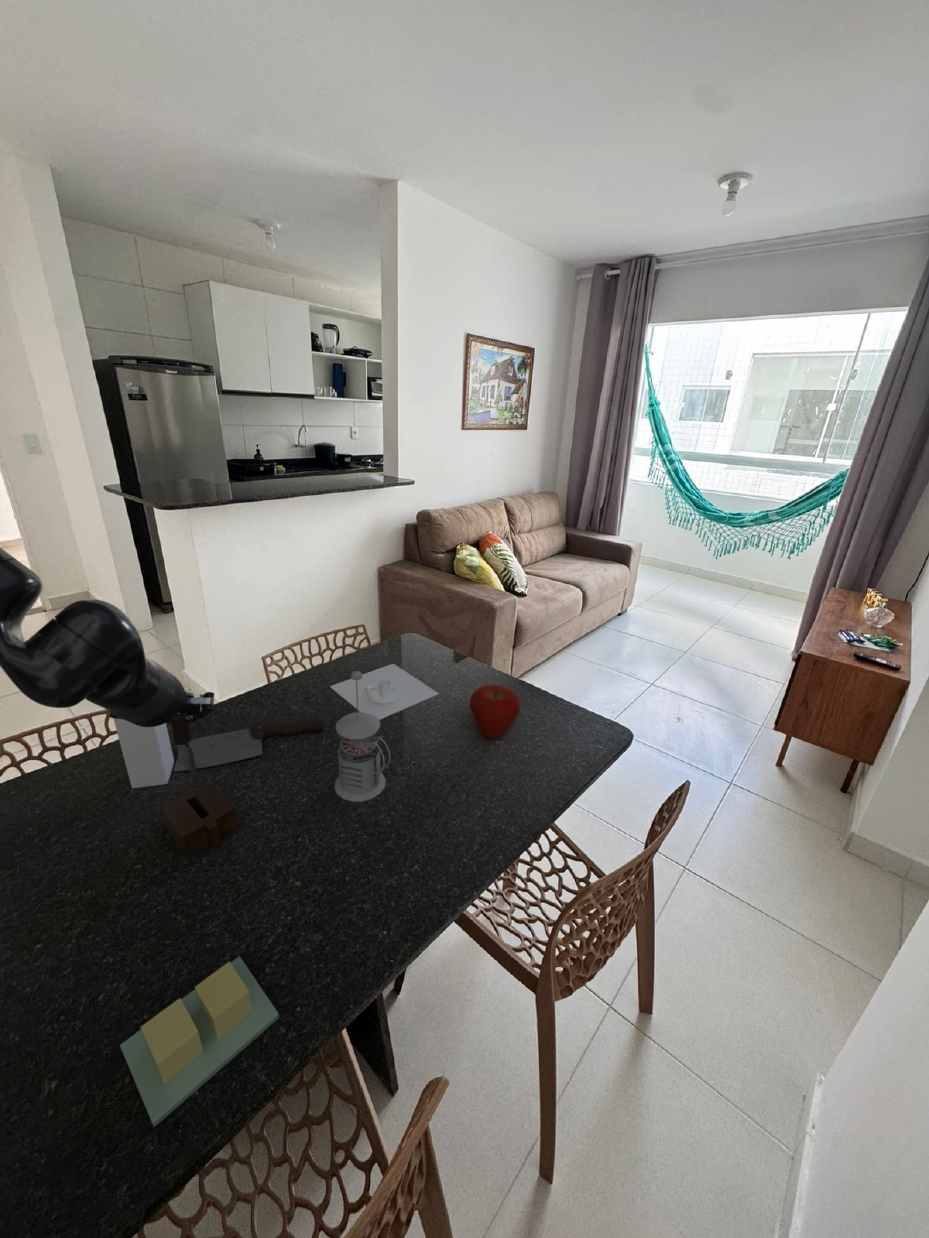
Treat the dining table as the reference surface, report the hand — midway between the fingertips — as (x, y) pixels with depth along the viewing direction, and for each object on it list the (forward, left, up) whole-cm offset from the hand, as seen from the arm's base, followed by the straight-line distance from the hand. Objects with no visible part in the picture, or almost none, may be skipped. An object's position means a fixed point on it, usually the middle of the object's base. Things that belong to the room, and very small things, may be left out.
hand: (183, 717), depth 80 cm
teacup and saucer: (+50, +13, -22) cm, 56 cm away
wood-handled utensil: (-1, -2, -8) cm, 8 cm away
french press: (+25, -11, -22) cm, 36 cm away
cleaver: (+16, +15, -22) cm, 31 cm away
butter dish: (-14, -31, -22) cm, 41 cm away
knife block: (-1, 0, -22) cm, 22 cm away
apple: (+56, -18, -22) cm, 63 cm away
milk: (-2, +19, -22) cm, 29 cm away
